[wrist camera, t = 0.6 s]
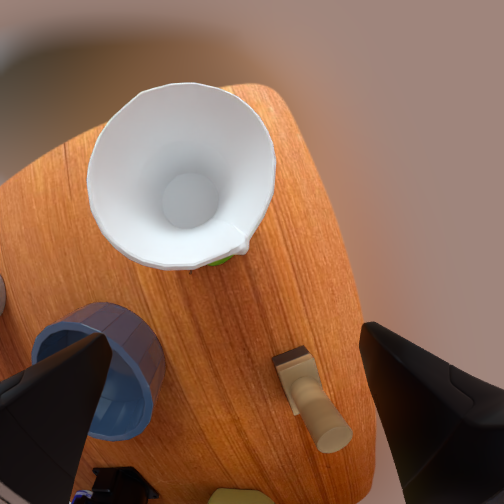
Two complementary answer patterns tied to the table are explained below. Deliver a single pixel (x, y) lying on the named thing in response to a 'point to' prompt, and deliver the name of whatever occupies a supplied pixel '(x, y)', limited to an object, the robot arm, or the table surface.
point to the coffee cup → (2, 295)
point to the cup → (181, 176)
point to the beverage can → (81, 492)
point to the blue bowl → (114, 365)
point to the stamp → (311, 400)
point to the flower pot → (239, 497)
